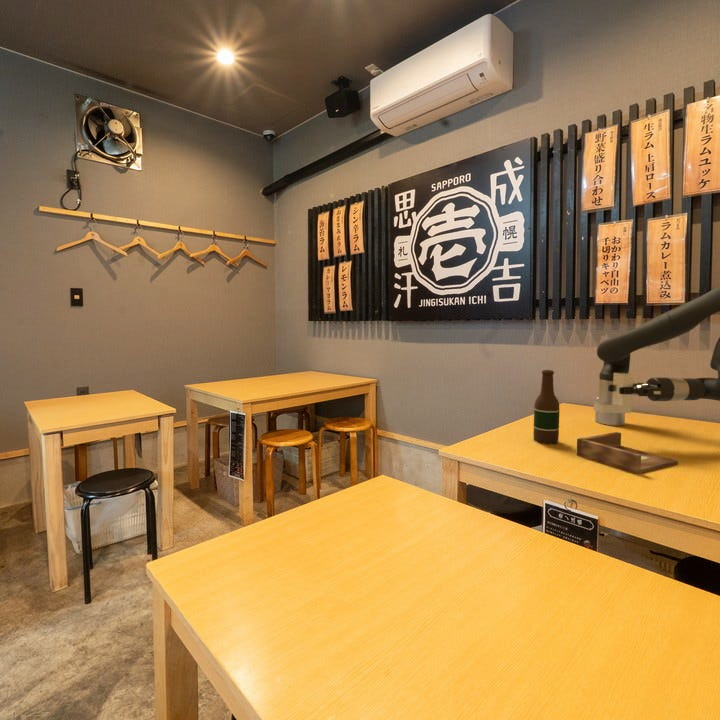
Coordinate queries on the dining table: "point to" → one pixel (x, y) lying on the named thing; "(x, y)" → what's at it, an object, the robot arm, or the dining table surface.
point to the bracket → (618, 396)
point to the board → (647, 461)
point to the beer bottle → (546, 412)
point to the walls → (609, 450)
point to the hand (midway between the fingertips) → (614, 389)
